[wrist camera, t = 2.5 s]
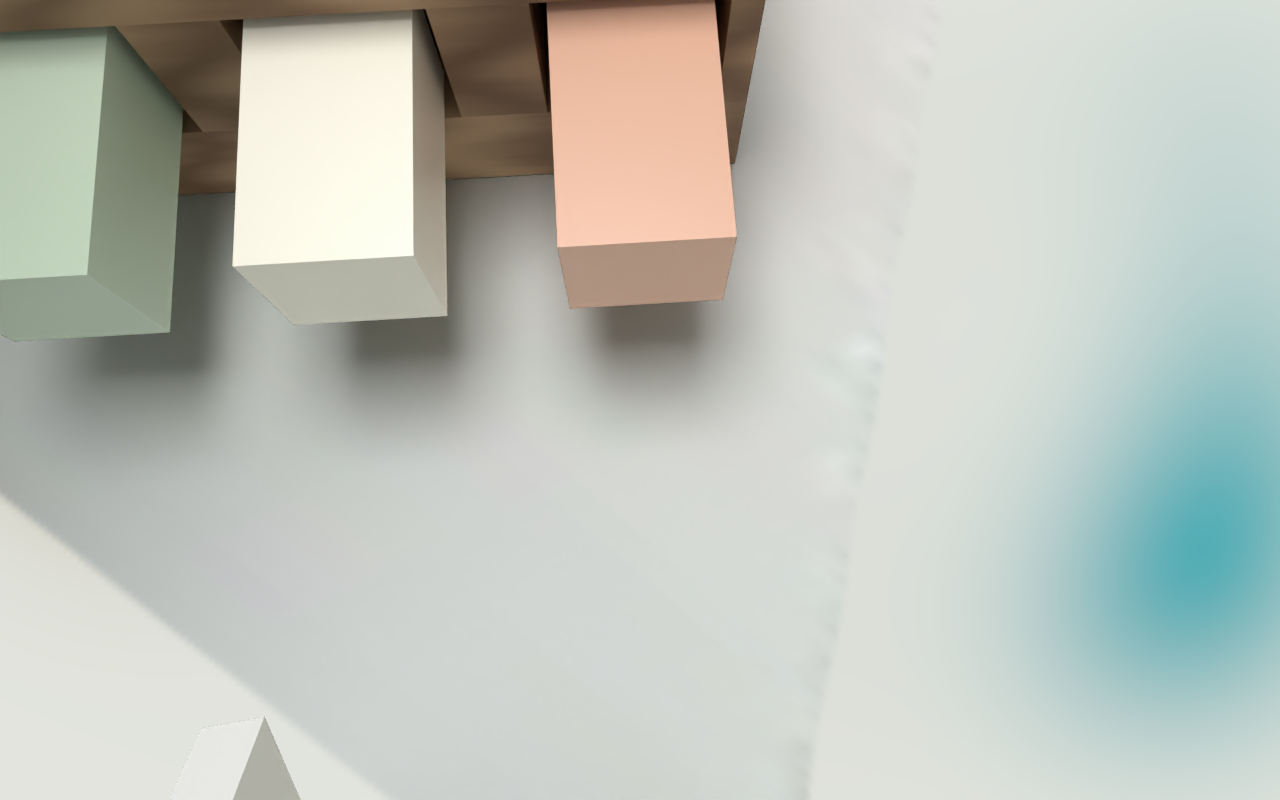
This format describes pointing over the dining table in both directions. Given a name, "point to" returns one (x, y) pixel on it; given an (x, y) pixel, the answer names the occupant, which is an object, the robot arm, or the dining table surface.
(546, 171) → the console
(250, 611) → the dining table surface
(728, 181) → the key terracotta
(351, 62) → the key cream
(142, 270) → the key sage
